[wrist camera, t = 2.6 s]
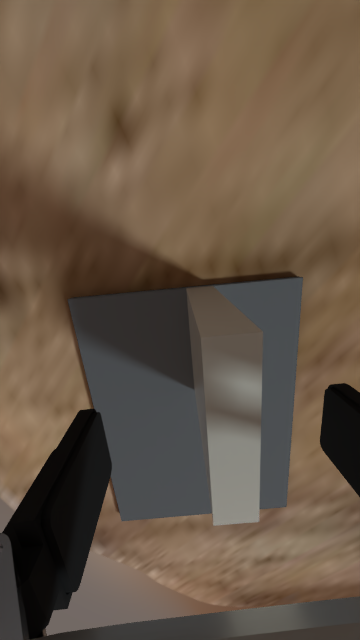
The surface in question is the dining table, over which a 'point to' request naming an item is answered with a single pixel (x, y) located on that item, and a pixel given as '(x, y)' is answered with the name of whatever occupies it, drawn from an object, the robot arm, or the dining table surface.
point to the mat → (181, 391)
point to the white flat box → (227, 402)
